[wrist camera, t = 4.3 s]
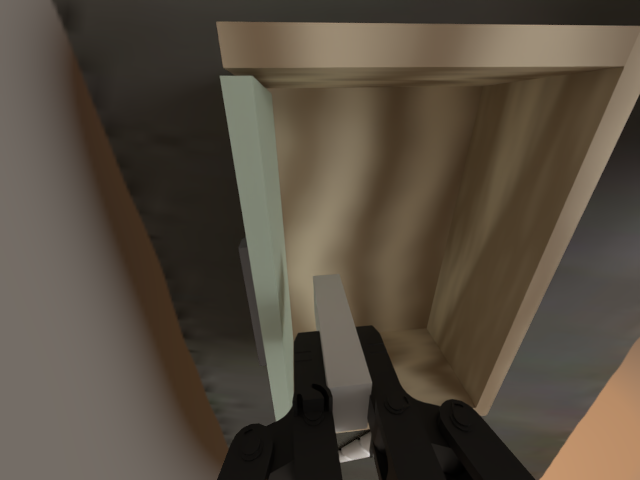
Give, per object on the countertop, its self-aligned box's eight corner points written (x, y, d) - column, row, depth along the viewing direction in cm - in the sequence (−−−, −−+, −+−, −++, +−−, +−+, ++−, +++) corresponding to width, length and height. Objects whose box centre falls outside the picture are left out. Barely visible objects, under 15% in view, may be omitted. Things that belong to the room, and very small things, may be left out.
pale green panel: (271, 93, 16) (251, 75, 8) (293, 339, 25) (293, 437, 17) (245, 94, 15) (199, 75, 8) (276, 340, 25) (270, 440, 17)
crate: (494, 66, 17) (672, 26, 9) (431, 328, 28) (486, 415, 20) (254, 67, 16) (216, 21, 8) (284, 341, 27) (281, 439, 19)
